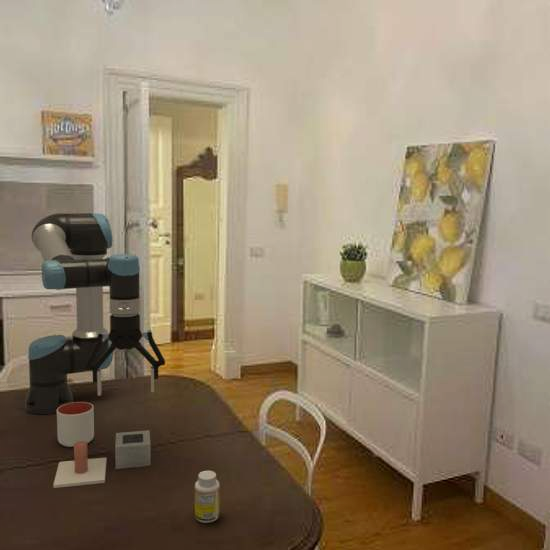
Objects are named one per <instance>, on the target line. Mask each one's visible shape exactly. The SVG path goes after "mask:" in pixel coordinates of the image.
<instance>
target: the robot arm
mask: <svg viewBox="0 0 550 550" xmlns="http://www.w3.org/2000/svg"><path fill="white" fill-rule="evenodd" d="M31 241H32V243H33V246H34V247H35V249H36V250H37V251H39V252H40V254H41V256H42V258H43V262H42V264H41V281H42V285H43V287H44V289H46V290H58V291H60V290H68V289H70V290H71V289H75V291H76V293H75V294H76V295H75V296H76V297H75V298H76V300H75V301H76V304H75V305H76V328H75V330H74V331H72V336H71V337H72V338H70V339H69V338H68V339H67V337H66V336H65V335H63V334H55V335H54V334H52V335H47V336H43V337H39V338H38V339H35V340H33V341H32V342H31V343H30V344H29V345H28V355H27V359H28V368H29V369H28V370H29V372H28V373H29V374H28V376H29V387H28V391H27V394H26V397H25V401H24V410H25V411H26V412H27V413H30V414H33V415H51V414H57V409H58V408H59V407H60V406H62V405H64V404H68V403H72V402H74V395H73V393H72V390H71V388H70V386H69V384H68V383H69V382H68V375H70V374H78V373H79V374H80V373H86V372H92V382H93V383H94V384H95V383H97V384H96V385H97V386H96V387H97V396H102V370H106V369H108V368H109V367H110V366H111V364H112V362H113V359H114V351H115V350H116V349H118V350H119V351H121V350H132V349H136V351H137V352H139V353H140V354H141V355H142V356H143V357H144V358H145V359H146V361H148V363H149V364H150V393H155V380H159V368H160V367H161V366H165V364H166V360H165V357H164V356H163V354H162V352H161V350H160V348H159V347H158V345H157V343H156V341H155V339H154V337H153V331H152V330H151V329H149V330H147V331H143V332H142V331H141V316H140V314H139V313H140V311H141V308H140V307H141V305H140V302H141V301H140V300H141V298H140V261H139V257H138V256H137V255H136V254H131V253H130V254H129V253H118V254H117V253H116V254H115V253H114V254H112V255H110V256H108V257H106V255H107V254H108V249H111V248H112V247H113V233H112V227H111V224H110V221H109V219H108V217H107V216H106V215H104V214H102V213H94V212H87V213H86V212H77V213H75V212H73V213H70V212H68V213H64V212H63V213H59V212H57V213H52V214H50V215H48V216H45V217H44V218H42V219H40V220H39V221H38V222H37V223H36V224H35V226H34V227H33V229H32V230H31ZM104 287H109V313H110V314H111V315H110V316H109V331H110V332H109V331H108V330H107V329H106V328H105V327H104V290H103V289H104ZM142 338H144V340H146V341H148V343H149V345H150V348H151V349H152V351H153V352H154V355H155V356H156V358H157V359H156V358H155V357H153V355H152V354H151V353H150V352H149V351H148V350H147V349H146V348H145V346H143V344H142V343H141V342H140V340H141V339H142Z"/></svg>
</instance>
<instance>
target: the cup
mask: <svg viewBox="0 0 550 550" xmlns="http://www.w3.org/2000/svg"><path fill="white" fill-rule="evenodd" d="M94 411H95V410H94V405H93V404H92V403H90V402H86V401H75V402H74V401H73V402H72V403H68V404H64V405H62V406H60V407H59V408H58V409H57V413H56V426H57V429H56V430H57V442H58V443H59V444H60V445H62V446H64V447H68V448H74V444H75V443H77V442H81V441H83V442H87V444H88V443H90V442H91V441H93V439H94V437H95V419H94V418H95V415H94Z"/></svg>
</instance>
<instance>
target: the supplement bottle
mask: <svg viewBox="0 0 550 550" xmlns="http://www.w3.org/2000/svg"><path fill="white" fill-rule="evenodd" d="M220 486H221V485H220V482H219V480H218V479H217V473H216V472H215V471H214V470H204V471H201V472H199V473H198V477H197V481H196V482H195V483H194V517H195V519H196V521H198V522H200V523H203V524H204V523H205V524H206V523H212V522H214V521H216V520H218V519H219V517H220V500H221V499H220V498H221V497H220V492H221V491H220Z"/></svg>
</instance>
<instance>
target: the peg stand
mask: <svg viewBox="0 0 550 550" xmlns="http://www.w3.org/2000/svg"><path fill="white" fill-rule="evenodd" d="M73 456H74V458H73V459H74V460H66V461H65V460H64V461H63V460H62V461H59V463H58V465H57V470H56V473H55V478H54V481H53V489H57V488H67V487H68V488H69V487H76V486H77V487H78V486H79V487H80V486H85V485H87V486H88V485H95V484H105V482H106V472H107V457H98V458H88V443H87V442H83V441H81V442H77V443H75V444H74V447H73Z"/></svg>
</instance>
